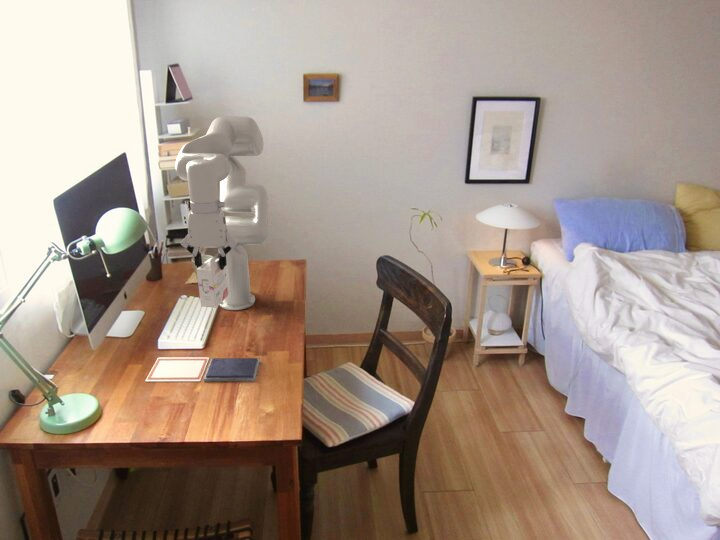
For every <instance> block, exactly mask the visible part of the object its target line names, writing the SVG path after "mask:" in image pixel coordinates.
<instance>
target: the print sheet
mask: <svg viewBox="0 0 720 540" xmlns="http://www.w3.org/2000/svg"><path fill="white" fill-rule="evenodd" d="M209 360H210V357H209V356H208V357H201V356H200V357H199V356H198V357H197V356H195V357H194V356H193V357H191V356H190V357H186V356H184V357H180V356H179V357H173V356H172V357H170V356H169V357H167V356H166V357H164V356H163V357H157V359H156V361H155V363H154V364H153V366H152V368H151V370H150V371H149V373H148V375H147V377H146V379H144V380H145V381H144V382H145V383H148V382H149V383H157V382H158V383H167V382H168V383H169V382H170V383H172V382H173V383H175V382H177V383H179V382H180V383H182V382H184V383H186V382H189V383H190V382H193V383H194V382H195V383H197V382H201V381H202V379H203V375H204V374H205V371H206V368H207V367H208V366H207V365H208V364H209Z"/></svg>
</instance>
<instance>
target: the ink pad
mask: <svg viewBox="0 0 720 540" xmlns="http://www.w3.org/2000/svg"><path fill="white" fill-rule="evenodd" d="M260 362H261V358H257V357H256V358H255V357H254V358H253V357H251V358H250V357H248V358H247V357H243V358H242V357H238V358H237V357H235V358H234V357H228V358H227V357H226V358H225V357H223V358H222V357H221V358H218V357H217V358H216V357H215V358H211V359H210V362H208V366H207V367H206V368H207V369H206V370H205V371H206V372H205V373H204V377H203V382H207V383H208V382H216V383H217V382H256V379H257V375H258V372H259V368H260V367H259V366H260Z"/></svg>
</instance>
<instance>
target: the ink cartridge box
mask: <svg viewBox="0 0 720 540" xmlns="http://www.w3.org/2000/svg"><path fill="white" fill-rule="evenodd" d="M219 257H220V252H218V253H217V254H215V256H214V255H213V257H210V258H208V259H207V260H205V261H204V262H202V265H201V266H200V267H198V268H197V267H196V275H197V276H196V278H197V284H198V292H199V300H200V307H203V308H213V309H217V308H218V307H219V306H220V305H219V304H220V303H221V302H222V301H223V300H224V299H225V298H226V297H227V296H228V289H227V278H226V267H224V269H223V270H221V269H220V260H219Z"/></svg>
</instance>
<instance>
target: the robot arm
mask: <svg viewBox="0 0 720 540" xmlns="http://www.w3.org/2000/svg"><path fill="white" fill-rule="evenodd" d="M207 129H208V130H207V131H206V133H205V135H203V136H200V137H198V138H195V139H192V140H189V142H187V143H185V144H184V145H183V146H182V147H181V149H180V151H179V152H178V154H177V157H176V160H175V173H176V175H177V176H178V177H179V179H180V180H183V181H184V182H187V185H188V195H189V202H190V203H189V204H190V205H189V206H190V210H189V211H188V216H187V217H188V219H187V235H185V237H184V238H183V239H182V240H181V241H180V245H181V246H182V247H183V248H184V249H186V250H187V251H188V252H189V253H190V254H191V256H192V257H193V260H194V266H195V267H196V269H197V268H198V267H200V266H201V265H202V264H203V259H202V253H201V252H200V249H201V248H217V251H218V253H219V252H220V257H219V258H218V259H219V260H220V269H221V270H223V269H224V267H226V278H227V289H228V296H227V297H226V298H225V299H224V300H223V301H222V302H221V303H220V304H219V305H218V306H219V307H220V308H222V309H224V310H227V311H241V310H245V309H248V308H250V307H253V305H255V303H256V297H255V295H254V294H252V293H251V284H250V282H251V281H250V272H249V270H250V269H249V257H248V253H247V251H246V248H244V247H243V246H242V245H244V246H245V245H246V246H248V245H249V246H253V245H254V246H257V245H263V244H265V243H266V241H267V239H268V222H269V221H268V220H269V215H268V213H269V208H268V206H269V205H268V204H269V202H268V193H267V189H265V187H264V186H263V185H260V184H247V183H246V181H247V180H246V177H247V175H246V174H247V172H246V168H245V167H244V166H243V165H242V163H241V162H240V161H239V160H238V159H237V158H236V157H258V156H260V155H261V154H262V153H263V150H264V138H263V135H262V132H261V129H260V128H259V125H258V123H257V122H256V121H255V119H253V118H252V117H250V116H233V115H231V116H229V115H228V116H227V115H226V116H224V115H223V116H218V117H216V118H214V119H213V120H212V122H211V123H210V125H209V127H208V128H207ZM218 183H219V185H218ZM225 213H230V214H231V213H232V214H253V216H252V215H251V216H250V215H249V216H248V215H247V216H246V215H245V216H243V215H226V216H225Z"/></svg>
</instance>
